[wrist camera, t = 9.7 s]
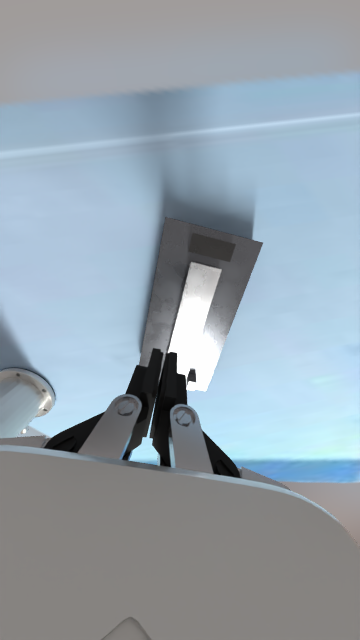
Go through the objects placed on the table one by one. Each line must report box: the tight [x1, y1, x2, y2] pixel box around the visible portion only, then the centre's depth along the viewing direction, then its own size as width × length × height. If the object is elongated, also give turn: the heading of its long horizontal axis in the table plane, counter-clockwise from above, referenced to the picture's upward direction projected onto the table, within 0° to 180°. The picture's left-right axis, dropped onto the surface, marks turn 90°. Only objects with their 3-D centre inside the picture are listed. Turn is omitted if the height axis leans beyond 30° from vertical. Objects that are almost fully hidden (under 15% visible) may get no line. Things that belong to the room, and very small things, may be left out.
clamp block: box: [139, 217, 263, 391], centre depth 27 cm, size 24×12×6 cm, turn 167°
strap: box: [168, 261, 222, 378], centre depth 25 cm, size 18×4×1 cm, turn 167°
